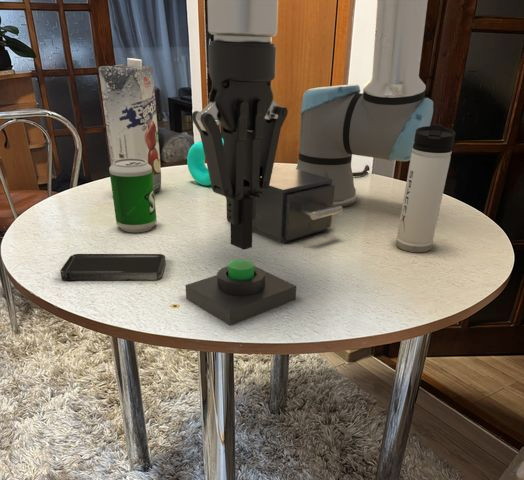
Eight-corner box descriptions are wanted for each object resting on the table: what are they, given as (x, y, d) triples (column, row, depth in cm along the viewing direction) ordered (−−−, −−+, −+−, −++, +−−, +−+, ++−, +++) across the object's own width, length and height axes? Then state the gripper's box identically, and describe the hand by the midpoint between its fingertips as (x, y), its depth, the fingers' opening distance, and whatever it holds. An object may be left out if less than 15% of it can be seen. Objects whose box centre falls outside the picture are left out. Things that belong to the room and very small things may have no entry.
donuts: (242, 182, 128) (242, 139, 122) (215, 190, 121) (214, 145, 116) (213, 175, 133) (212, 134, 127) (185, 182, 126) (183, 139, 121)
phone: (71, 253, 82) (165, 253, 83) (73, 260, 83) (166, 260, 84) (58, 273, 76) (160, 273, 76) (59, 280, 76) (161, 280, 77)
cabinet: (327, 229, 99) (332, 179, 94) (280, 243, 92) (283, 189, 87) (276, 211, 108) (278, 164, 103) (230, 222, 101) (229, 173, 96)
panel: (250, 277, 79) (250, 252, 77) (295, 300, 73) (297, 274, 71) (186, 299, 72) (184, 273, 70) (230, 326, 66) (229, 298, 64)
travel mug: (432, 242, 94) (457, 125, 84) (430, 255, 89) (456, 132, 78) (397, 238, 96) (418, 122, 85) (393, 249, 91) (414, 128, 80)
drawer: (347, 233, 95) (352, 190, 91) (304, 247, 88) (308, 201, 84) (282, 210, 106) (284, 171, 102) (239, 220, 99) (239, 179, 95)
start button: (242, 268, 73) (243, 257, 72) (259, 277, 71) (259, 265, 70) (222, 275, 71) (222, 263, 70) (239, 283, 69) (239, 271, 68)
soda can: (148, 235, 94) (141, 168, 87) (109, 231, 95) (100, 164, 88) (162, 222, 100) (157, 158, 94) (126, 219, 101) (119, 156, 95)
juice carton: (110, 198, 113) (91, 58, 99) (131, 186, 122) (116, 56, 107) (147, 201, 111) (133, 60, 97) (166, 189, 120) (156, 57, 106)
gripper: (264, 39, 62) (259, 228, 74) (172, 37, 54) (184, 248, 67) (308, 41, 57) (295, 243, 70) (215, 39, 50) (219, 265, 62)
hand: (241, 245), depth 68 cm, fingers closed
